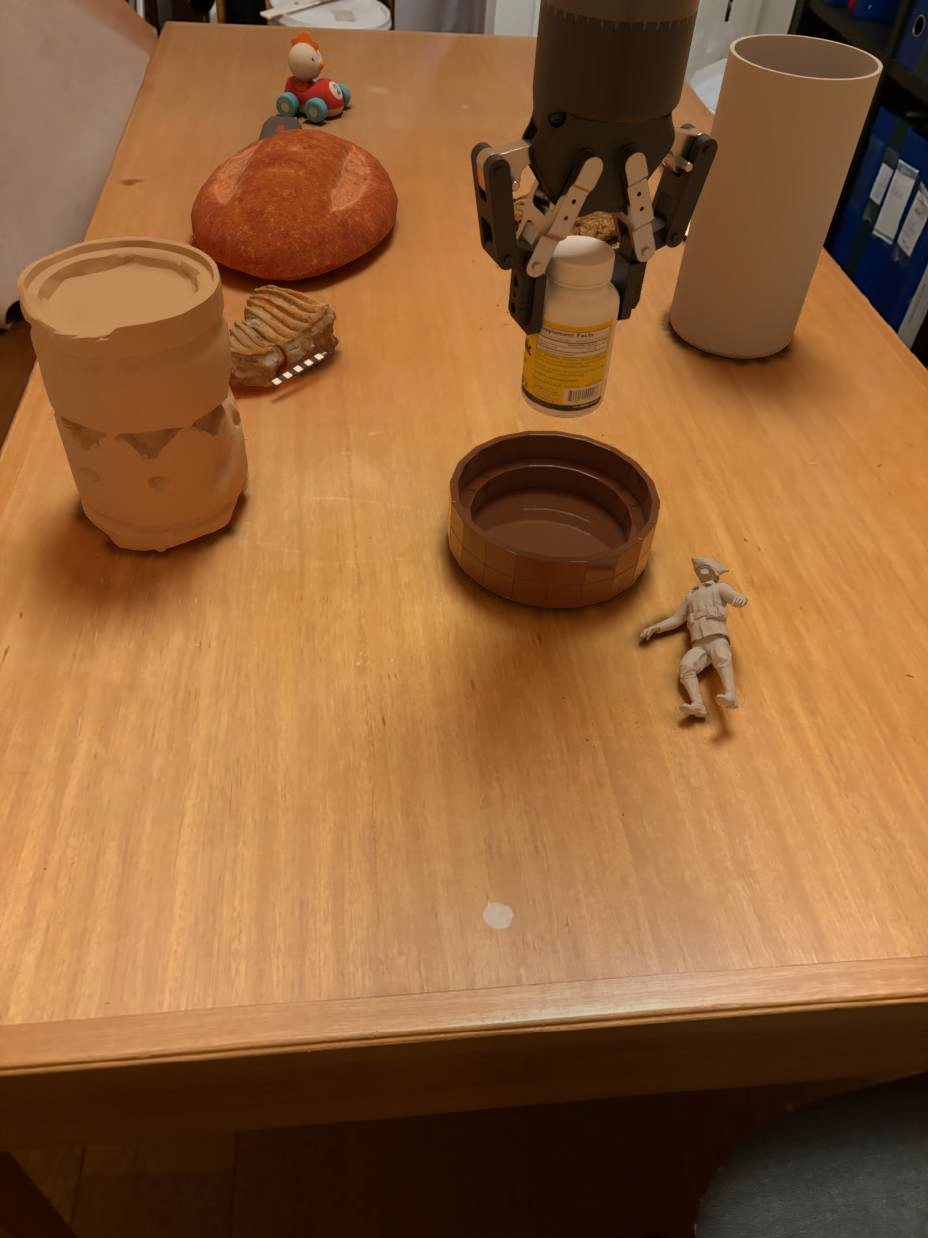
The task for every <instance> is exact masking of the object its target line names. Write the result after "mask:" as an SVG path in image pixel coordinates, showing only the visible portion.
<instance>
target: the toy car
mask: <svg viewBox="0 0 928 1238" xmlns="http://www.w3.org/2000/svg"><path fill="white" fill-rule="evenodd" d="M290 43H291V46H292V48H291V49H290V51H289V53H288V57H287V64H288V68H289V71H290V72H291V74H292V75H291V76H289V77H287V79H286V82H285V86H284V91H283V93H282V94H280V95H279V96H278V97H277V99H276V102H275V106H276V110H277V112H278V114H279V115H280V116H283V117H295V115H297V114H298V113H301V114H305V116H306V118H307V119H308V121H310V122H311V123H314V124H319V123H322V121H325V120H326V118H331V117H335V116H338V115H339V114H341V113H342V112H343V109H344V108H345V107H346V106H347V105H349V103H350V102H351V92H350V91H351V90H350V89H349V87H348V86H347V85H346V84H344V83H341V82H335V81H334V80H332V79H331V78H326V77H321V78H319V79H317V78H318V77H319V76H320V74H321V73H322V70H323V69H324V67H325V63H324V61H323V58H322V55H321V52H320V51H319V48H320V46H319V42H318V41H316V40H313V38H312V35H311V33H310V32H309V31H307V30H301V31H299V32H298V34H297V36H296V37H293V38H291V40H290Z"/></svg>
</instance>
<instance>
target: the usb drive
mask: <svg viewBox="0 0 928 1238" xmlns="http://www.w3.org/2000/svg"><path fill="white" fill-rule="evenodd" d="M261 126H262V127H261V130H260V133H259V137H258V140H257V141H259V140H261V139H264V138H270V137H272V136H273V135H275V134H277V133H279V132H281V131H284V130H291V129H303V125H302V123H300V121H299V120H298V118H297V117H295V116H293V117H283V116H282V115H279V116H278V115H277V116H276V115H271V116H270V117H269V118H267V120H266V121H264V123H262V125H261Z"/></svg>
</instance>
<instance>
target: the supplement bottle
mask: <svg viewBox="0 0 928 1238" xmlns="http://www.w3.org/2000/svg"><path fill="white" fill-rule="evenodd" d="M614 260H615V252H614V250H613V247H612V245H611V244H609V243H607V241H605V242H604V241H601V240H599V239H596V238H592V237H587V236H567V238H566V239H565V240H563V241H560V242H559V243H558V245H557V247H556V249H555V251H554V253H553V255H552V257H551V259H550V261H549V263H548V265H547V267H546V269H545V271H544V274H545V275H546V276H547V282H546V291H545V299H544V307H543V316H542V324H541V331H540V333H537V334H531V335H527V334H526V333H525V341H524V351H523V353H524V354H523V364H522V372H521V373H522V374H521V384H520V385H521V386H520V387H521V388H520V389H521V392H520V393H521V396H522V398H523V400H524V402H525V403H526V405H527V406H529V408H531V409H533V410H534V411H536V412H537V413H540V414H542V415H546V416H549V417H554V418H558V419H576V418H581V417H585V416H588V415H590V414H592V413H593V412H595V411H597V410H598V409H599V407H601V405H602V403H603V401H604V398H605V393H606V389H607V388H606V387H607V383H608V376H609V371H610V365H611V358H612V354H613V353H612V352H613V347H614V340H615V335H616V328H617V322H618V321H617V317H618V311H619V303H620V299H619V294H618V291H617V289H616V288H615V287H614V285H613V284H612V283H611V282H610V280H611V278H612V273H613V267H614Z"/></svg>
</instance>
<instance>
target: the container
mask: <svg viewBox="0 0 928 1238" xmlns="http://www.w3.org/2000/svg"><path fill="white" fill-rule="evenodd" d="M16 284H17V291H18V299H19V306H20V307H19V308H20V311H21V313H22V316H23V318H24V320H25V322H27V323H29V324H30V326H31V328H30V333H29V334H30V335H29V336H30V339H31V343H32V346H33V349H34V353H35V356H36V358H37V363H38V366H39V371H40V374H41V378H42V382H43V386H44V389H45V392H46V395H47V399H48V401H49V403H50V406H51V407H52V409H53V411H54V413H53V416H54V420H55V424H56V427H57V429H58V434H59V436H60V440H61V442H62V446H63V448H64V452H65V455H66V459H67V463H68V465H69V468H70V471H71V474H72V475H71V476H72V479H73V481H74V484H75V487H76V490H77V492H78V494H79V496H80V503H81V507H82V509H83V512H84V515H85V516H86V517H87V519H88V520H89V521H90V522H91V523H92V524H93V525H94V526H95V527H97V528H98V529H99V530H100V531H102V532H103V533H104V534H106V535H107V536H108V538H109V539H110V540H111V541H112V543H113V544H115V545H116V546H117V547H119V549H126V550H132V551H139V552H149V551H153V550H155V551H157V552H158V553H162V552H163V553H164V552H166V550H167V549H171V548H175V547H177V546H179V545H181V544H186V543H188V542H190V541H193V540H196V539H199V538H200V537H203V536H205V535H208V534H213V533H215V532H216V531H219V530H220V529H222V528H225V527H226V526H227V525H228V524H230V522H231V518H232V515H233V511H234V509H235V508H236V507H235V506H236V504H237V502H238V498H239V495H240V494H241V493H243V492H245V491H247V489H248V487H249V484H250V480H251V479H250V478H251V477H250V473H249V463H248V455H247V450H246V443H245V435H244V430H243V429H244V428H243V424H242V420H241V413H240V410H239V407H238V404H237V402H236V399H235V397H234V394H233V391H232V389H231V386H230V382H229V379H230V369H231V349H230V338H229V335H230V332H229V325H228V319H227V315H226V313H225V298H224V291H223V284H222V279H221V274H220V271H219V268H218V265H217V263H216V261H215V260H213V259H212V258H211V257H209V256H208V255H207V254H206V253H204V252H203V251H202V250H201V249H200V248H197V247H195V246H192V245H190V244H187V243H185V242H182V241H177V240H173V239H168V238H163V237H162V238H161V237H155V236H154V237H153V236H141V235H133V236H132V235H130V236H129V235H128V236H114V237H113V236H111V237H105V238H98V239H92V240H88V241H87V240H86V241H83V242H80V243H76V244H73V245H70V246H68V247H66V248H63V249H59V250H57V251H55V252H54V253H51V254H47V255H46V256H44V257H42V258H39V259H36V260H34V261H33V262H31V263H30V264H29V265H28V266H26V268H25V269H23V270H22V271H21V273H20V275H19V277H18V279H17V282H16Z"/></svg>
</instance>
